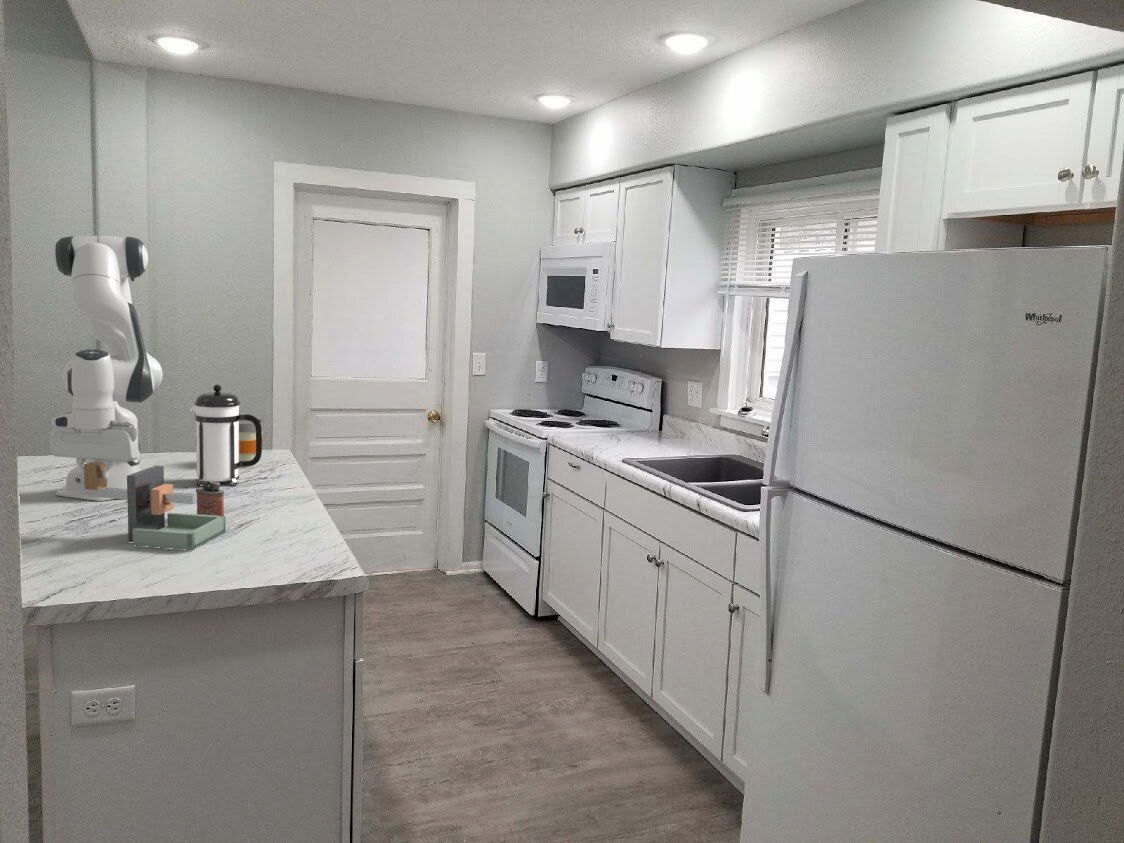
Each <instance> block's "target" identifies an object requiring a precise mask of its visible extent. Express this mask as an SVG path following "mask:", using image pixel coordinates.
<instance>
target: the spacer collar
mask: <svg viewBox="0 0 1124 843" xmlns="http://www.w3.org/2000/svg"><path fill="white" fill-rule="evenodd" d="M167 492H174V484H171V483H170V484H169V483H164V484H163V485H161V486H158V487H156V488H153V489H151V509H152V514H153V515H161V514H163V513H167V512H168V513H169V512H170V511H171V510H174V503H169V502H163V494H165V493H167Z"/></svg>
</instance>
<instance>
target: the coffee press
mask: <svg viewBox="0 0 1124 843" xmlns="http://www.w3.org/2000/svg"><path fill="white" fill-rule="evenodd" d="M212 389H213V390H214V391H213V392H204V393H202V394H199V395H198V396H197V398H196V400H195V401H194V404H193V405H192V406H191V408H190V409H189V412H195V414H194V421H195V426H196V427H195V431H196V432H195V434H196V436H195V437H196V441H195V442H196V476H197V478H198V480H197V482H196V486H197V487H200V485H199V480H208V481H211V480H214V481H215V482H217V483H220V482H228V483H229V485H230V486H231V485H233V486H232V487H236V486H238V479H240V468H239V467H247V466H253V465H255V464H256V463H258V462H259V463H260V460H261V459H262V458H261V457H262V454H263V452H262V451H263V443H262V437H263V433H262V428H261V424H260V422H259V420H258V419H259V418H257V417H256V416H254V415H252V414H248V413H247V414H240V405H241V401H240V400H239V398H238V397H237V396H236V395H235V394H233V393H230V392H222V391H221V390H222V389H223V387H222V386H221V385H220V384H215V385H213V388H212ZM239 420H249V421H251V422H253V423H254V425H255V428H256V455H255V457H254V458H253V459H252V460H250V461H240V460H239ZM235 485H236V486H235ZM202 487H203V485H202Z"/></svg>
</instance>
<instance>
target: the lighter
mask: <svg viewBox="0 0 1124 843" xmlns="http://www.w3.org/2000/svg"><path fill="white" fill-rule="evenodd" d="M198 480H199V479H198ZM199 485H203V486H202V487H198V488H196V489H195V493H196V494H197V502H196V514H200V515H213V516H225V510H224V509H225V508H224V503H225V501H224V500H225V499H224V496H225V491H224V490H222V489H220V487H221V483H220V482H215V481H214V480H211V481H208V480H199Z"/></svg>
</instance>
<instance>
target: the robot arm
mask: <svg viewBox="0 0 1124 843" xmlns="http://www.w3.org/2000/svg"><path fill="white" fill-rule="evenodd" d="M53 260H54V262H55V265H56V267H57V270H58V271H59V272H60V273H61V274H63V275H64V276H67V277H70V291H71V292H70V293H71V301H72V303H73V305H74V307H75V308H76V309H77V311H79V312H80V313H81V314H82V315H84V316H85V317H87V322H88V324H87V325H88V331H89V334H90V335H91V336H92V337H93V338H94V339H95V340H97V341H100V342H101V343H103V344H106V345H107V346H108V348H109V350H110V353H111V355H110V353H108V352H107V351H104V350H101V349H83V350H79V351H77V352H75V353H74V355H73V358H72V359H71V360H70V361H68V362H67V364H66V365H65V366H64V368H63V371H62V381H63V384H64V386H65V388H66V389H67V393H69V394H70V395H71V396H72V397H73V402H72V405H71V406H72V407H71V408H72V409H71V411H72V412H66V414H63V415H59V416H55V417H52V419H51V426H52V427H53V428H52V429H51V431H50V436H49V437H50V438H49V439H50V440H49V444H50V445H49V448H50V449H49V450H50V453H51V454H52V456H54V457H56V458H57V457H58V458H59V457H60V458H71V459H76V464H77V465H76V466H75V467H72V469H70V471H69V472H68V473H67V476H66V480H65V486H64V487H61V488H59V489H58V490H57V491H56V496H60V497H65V498H73V499H79V500H80V499H81V500H88V501H95V502H102V501H103V502H104V501H108V500H115V499H114V498H101V497H88V489H85V478H84V464H87V463H90V462H93V461H100V462H103V464H106V465H105V467H104V469H103V470H101V471H99V474H100V478H107V488H120V489H127V475H130V474H133V473H136V472H139V471H141V466H140V462H141V444H140V443H139V426H138V425H139V424H138V423H139V422H138V420H139V419H138V418H137V416H136V414H135V413H134V412H132V411H131V410H129V409H127V408H125V407H124V406H123V407H122V406H120V404H119V403H118V402H126V403H128V402H129V403H139V404H140V403H143V402H145V401H146V400H148V399H149V398H150V397H151V396H152V395H153V394H154V391H155V390H157V389H158V388H159V387H160V385H161V384H162V381H163V367H162V366H161V363H160V362H159V361H158V360H157V359H156V358H155V357H153V356H152V355H151V354H149V353H148V352H147V350H146V346H145V341H144V337H143V336H144V335H143V330H142V329H141V324H140V320H139V316H138V314H137V310H136V308H135V306H134V305H133V302H132V293H131V287H130V283H129V279H130V280H131V283H133V282H134V281H135V279H136V278H138V277H141V276H142V275H143V274H144V273H145V272H146V270H147V266H148V264H149V253H148V251H147V248H146V247H145V245H144V242H143V241H142V240H141V239H139V238H137V237H131V236H126V237H123V236H117V235H104V234H103V235H102V234H101V235H86V236H83V235H82V236H75V237H74V236H71V235H70V236H65V237H64V236H63V237H61V238H60V239H59V240H58V241H56V242H55V247H54V250H53ZM128 277H129V279H128Z"/></svg>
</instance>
